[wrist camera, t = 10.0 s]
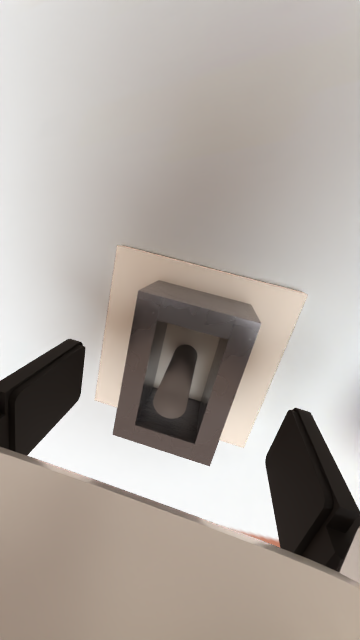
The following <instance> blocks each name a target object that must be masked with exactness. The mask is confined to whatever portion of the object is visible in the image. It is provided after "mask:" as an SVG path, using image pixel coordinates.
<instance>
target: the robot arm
mask: <svg viewBox="0 0 360 640" xmlns="http://www.w3.org/2000/svg"><path fill="white" fill-rule="evenodd" d="M84 357H85V347H84V346H83V344H82V343H81V342H79V341H76V340H72V339H67V340H66V341H64V342H63V343H61V344H59V345H58V346H56V347H54V348H53V349H51V350H50V351H48V352H46V353H45V354H43V355H41V356H40V357H38V358H37V359H35V360H33V361H32V362H30V363H28V364H27V365H25V366H24V367H22V368H20V369H19V370H17V371H16V372H14V373H12V374H11V375H9V376H7V377H6V378H4V379H3V380H1V381H0V640H360V511H359V509H358V507H357V505H356V503H355V501H354V499H353V497H352V495H351V493H350V491H349V489H348V487H347V485H346V483H345V481H344V479H343V477H342V475H341V473H340V471H339V469H338V467H337V465H336V463H335V461H334V459H333V457H332V455H331V453H330V451H329V449H328V447H327V445H326V443H325V441H324V439H323V437H322V435H321V433H320V431H319V429H318V427H317V425H316V423H315V421H314V419H313V417H312V415H311V413H310V412H308V411H304V410H301V409H298V408H294V409H293V410H289V411H288V412H287V414H286V416H285V418H284V420H283V422H282V425H281V427H280V429H279V431H278V433H277V435H276V437H275V439H274V441H273V443H272V445H271V447H270V449H269V451H268V453H267V456H266V461H265V463H266V470H267V475H268V481H269V486H270V492H271V498H272V503H273V509H274V514H275V520H276V525H277V531H278V536H279V542H280V548H279V547H277V546H274V545H272V544H269V543H266V542H264V541H261V540H259V539H256V538H253V537H251V536H248V535H245V534H242V533H240V532H237V531H234V530H232V529H229V528H226V527H223V526H221V525H218V524H215V523H213V522H210V521H207V520H204V519H202V518H199V517H196V516H194V515H191V514H188V513H186V512H183V511H180V510H177V509H175V508H172V507H169V506H166V505H164V504H161V503H158V502H155V501H153V500H150V499H147V498H144V497H142V496H139V495H136V494H133V493H130V492H128V491H125V490H122V489H119V488H117V487H114V486H111V485H108V484H106V483H103V482H100V481H97V480H94V479H92V478H89V477H86V476H83V475H80V474H77V473H75V472H72V471H69V470H66V469H63V468H61V467H58V466H55V465H52V464H49V463H47V462H44V461H41V460H38V459H35V458H32V457H29V456H27V455H28V454H29V453H30V452H31V451H32V450H33V449H34V447H35V446H36V445H37V444H38V443H39V442H40V441H41V440H42V439H43V438H44V437H45V436H46V435H47V433H48V432H49V431H50V430H51V429H52V428H53V427H54V426H55V425H56V424H57V423H58V422H59V421H60V420H61V418H62V417H63V416H64V415H65V414H66V413H67V412H68V411H69V410H70V409H71V408H72V407H73V406H74V404H75V403H76V402H77V401H78V399H79V397H80V394H81V386H82V376H83V367H84Z"/></svg>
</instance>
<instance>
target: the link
mask: <svg viewBox="0 0 360 640" xmlns="http://www.w3.org/2000/svg"><path fill="white" fill-rule="evenodd" d="M168 323H169V324H173V325H177V326H180V327H184V328H187V329H191V330H195V331H198V332H202V333H206V334H209V335H213V336H216V337H220V340H219V343H218V346H217V350H216V353H215V356H214V359H213V362H212V366H211V369H210V372H209V375H208V379H207V382H206V385H205V388H204V392H203V395H202V398H201V401H197V400H194V399H191V398H188V402H187V407H186V410H185V412H184V414H183V415H182V416H180V417H178V418H174V419H170V418H165V417H163V416H161V415H160V414H159V413H158V412H157V411H156V410H155V408H154V405H153V399H154V397H155V394H156V392H157V390H158V388H154V387H153V386H154V382H155V377H156V373H157V369H158V364H159V360H160V355H161V351H162V347H163V342H164V338H165V333H166V329H167V325H168ZM260 326H261V322H260V320H259V318H258V316H257V314H256V313H255V311H254V309H253V307H252V305H251V304H248V303H244V302H240V301H236V300H232V299H229V298H225V297H221V296H217V295H213V294H210V293H206V292H202V291H198V290H194V289H190V288H187V287H183V286H179V285H175V284H171V283H168V282H164V281H160V280H158V281H156V282H154V283H152V284H150V285H148V286H146V287H144V288H142V289H140V290H138V294H137V300H136V306H135V311H134V317H133V323H132V328H131V334H130V340H129V345H128V351H127V356H126V362H125V368H124V373H123V379H122V385H121V390H120V396H119V401H118V407H117V413H116V418H115V424H114V430H113V435H115V436H118V437H122V438H125V439H128V440H131V441H134V442H137V443H140V444H143V445H146V446H149V447H152V448H155V449H158V450H162V451H165V452H168V453H171V454H174V455H177V456H180V457H183V458H186V459H189V460H192V461H195V462H198V463H201V464H205V465H208V466H210V464H211V461H212V458H213V456H214V453H215V450H216V447H217V445H218V442H219V439H220V436H221V434H222V431H223V428H224V425H225V423H226V420H227V417H228V414H229V412H230V409H231V406H232V403H233V401H234V398H235V395H236V392H237V389H238V387H239V384H240V381H241V378H242V376H243V373H244V370H245V367H246V365H247V362H248V359H249V356H250V354H251V351H252V348H253V345H254V343H255V340H256V337H257V334H258V332H259V329H260Z"/></svg>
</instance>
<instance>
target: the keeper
mask: <svg viewBox="0 0 360 640" xmlns="http://www.w3.org/2000/svg"><path fill="white" fill-rule="evenodd" d="M158 280H160V281H164V282H168V283H171V284H175V285H179V286H183V287H187V288H190V289H194V290H198V291H202V292H206V293H210V294H213V295H217V296H221V297H225V298H229V299H232V300H236V301H240V302H244V303H248V304H251V305H252V307H253V309H254V311H255V313H256V314H257V316H258V318H259V320H260V322H261V326H260V329H259V332H258V334H257V337H256V340H255V343H254V345H253V348H252V351H251V354H250V356H249V359H248V362H247V365H246V367H245V370H244V373H243V376H242V378H241V381H240V384H239V387H238V389H237V392H236V395H235V398H234V401H233V403H232V406H231V409H230V412H229V414H228V417H227V420H226V423H225V425H224V428H223V431H222V434H221V436H220V439H219V440H221V441H224V442H227V443H230V444H233V445H236V446H239V447H242V448H244V446H245V444H246V441H247V439H248V437H249V434H250V432H251V429H252V427H253V425H254V422H255V420H256V417H257V415H258V413H259V410H260V408H261V406H262V403H263V401H264V398H265V396H266V394H267V391H268V389H269V386H270V384H271V382H272V379H273V377H274V374H275V372H276V370H277V367H278V365H279V363H280V360H281V358H282V355H283V353H284V351H285V348H286V346H287V343H288V341H289V339H290V336H291V334H292V331H293V329H294V327H295V324H296V322H297V320H298V317H299V315H300V312H301V310H302V308H303V305H304V303H305V300H306V298H307V296H308V295H307V294H305V293H303V292H300V291H297V290H293V289H289V288H285V287H281V286H277V285H273V284H269V283H266V282H262V281H258V280H254V279H250V278H246V277H242V276H239V275H235V274H231V273H227V272H223V271H219V270H215V269H212V268H208V267H204V266H200V265H196V264H192V263H188V262H185V261H181V260H177V259H173V258H169V257H165V256H161V255H157V254H154V253H150V252H146V251H142V250H138V249H134V248H130V247H127V246H119V245H117V250H116V256H115V263H114V270H113V277H112V284H111V291H110V298H109V305H108V311H107V318H106V325H105V332H104V339H103V346H102V353H101V360H100V366H99V373H98V380H97V387H96V394H95V401H99V402H102V403H105V404H108V405H111V406H114V407H118V401H119V396H120V390H121V385H122V379H123V373H124V368H125V362H126V356H127V351H128V345H129V340H130V334H131V328H132V323H133V317H134V311H135V306H136V300H137V294H138V290H140V289H142V288H144V287H146V286H148V285H150V284H152V283H154V282H156V281H158ZM219 340H220V337H216V336H213V335H209V334H206V333H202V332H198V331H195V330H191V329H187V328H184V327H180V326H177V325H173V324H169V323H168V325H167V329H166V333H165V338H164V342H163V347H162V351H161V355H160V360H159V364H158V369H157V373H156V377H155V382H154V386H153V387H154V388H158V390H157V392H156V394H155V397H154V399H153V405H154V408H155V410H156V411H157V412H158V413H159V414H160V415H161V416H163V417H165V418H170V419H174V418H178V417H180V416H182V415H183V414H184V412H185V410H186V407H187V402H188V398H191V399H194V400H197V401H201V398H202V395H203V392H204V388H205V385H206V382H207V379H208V375H209V372H210V369H211V366H212V362H213V359H214V356H215V353H216V350H217V346H218V343H219Z"/></svg>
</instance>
